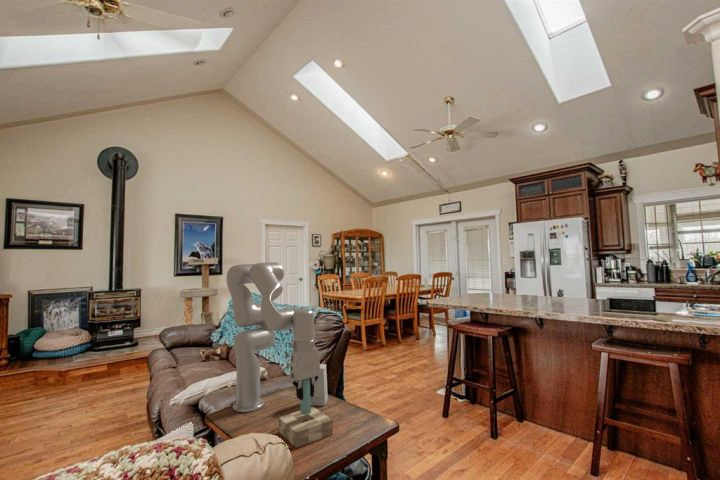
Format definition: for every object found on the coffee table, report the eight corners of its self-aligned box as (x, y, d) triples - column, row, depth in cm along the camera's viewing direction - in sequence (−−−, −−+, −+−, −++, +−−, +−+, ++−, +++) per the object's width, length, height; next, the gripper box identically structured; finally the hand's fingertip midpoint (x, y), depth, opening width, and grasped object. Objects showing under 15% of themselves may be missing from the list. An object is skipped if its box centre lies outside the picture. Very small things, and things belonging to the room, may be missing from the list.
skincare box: (328, 400, 151) (327, 363, 152) (325, 406, 145) (324, 368, 145) (309, 399, 152) (308, 363, 153) (305, 406, 145) (304, 368, 146)
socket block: (278, 431, 124) (278, 417, 124) (313, 420, 132) (313, 406, 133) (296, 448, 113) (296, 432, 113) (332, 434, 121) (332, 419, 122)
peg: (298, 412, 123) (298, 377, 124) (307, 409, 125) (307, 375, 126) (303, 415, 120) (302, 380, 121) (312, 412, 123) (311, 377, 123)
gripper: (287, 350, 116) (288, 407, 115) (329, 342, 126) (330, 394, 125) (278, 347, 122) (279, 400, 121) (319, 339, 132) (320, 388, 131)
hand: (305, 396), depth 123 cm, fingers closed on peg, 3 cm apart
